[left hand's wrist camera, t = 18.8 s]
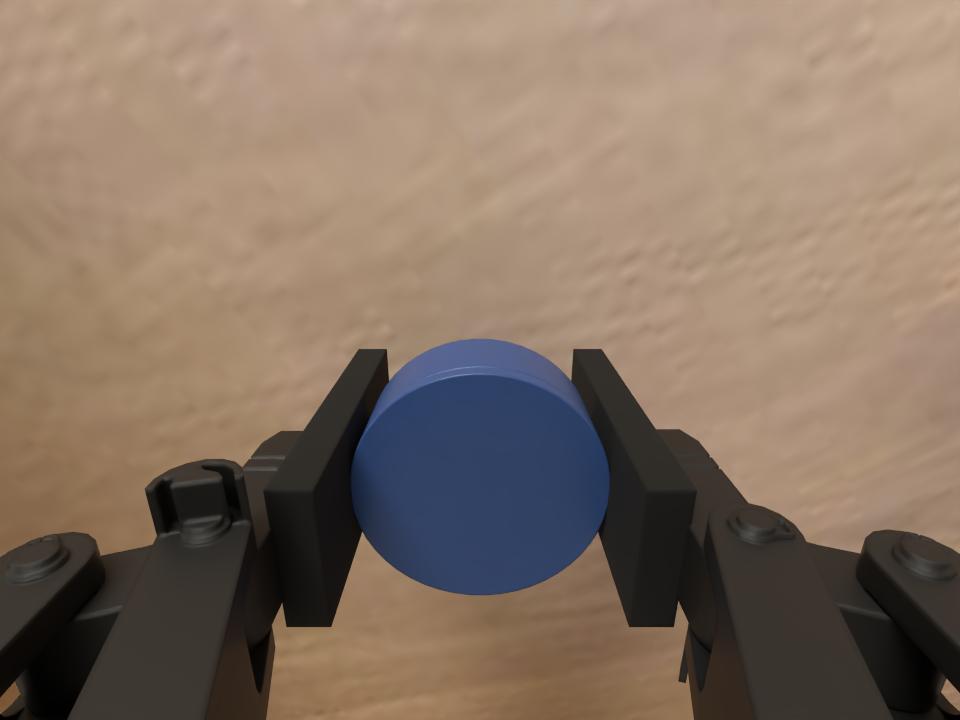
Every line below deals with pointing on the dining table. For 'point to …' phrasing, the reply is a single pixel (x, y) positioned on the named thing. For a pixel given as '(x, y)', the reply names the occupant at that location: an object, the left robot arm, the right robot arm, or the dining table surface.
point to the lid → (480, 470)
